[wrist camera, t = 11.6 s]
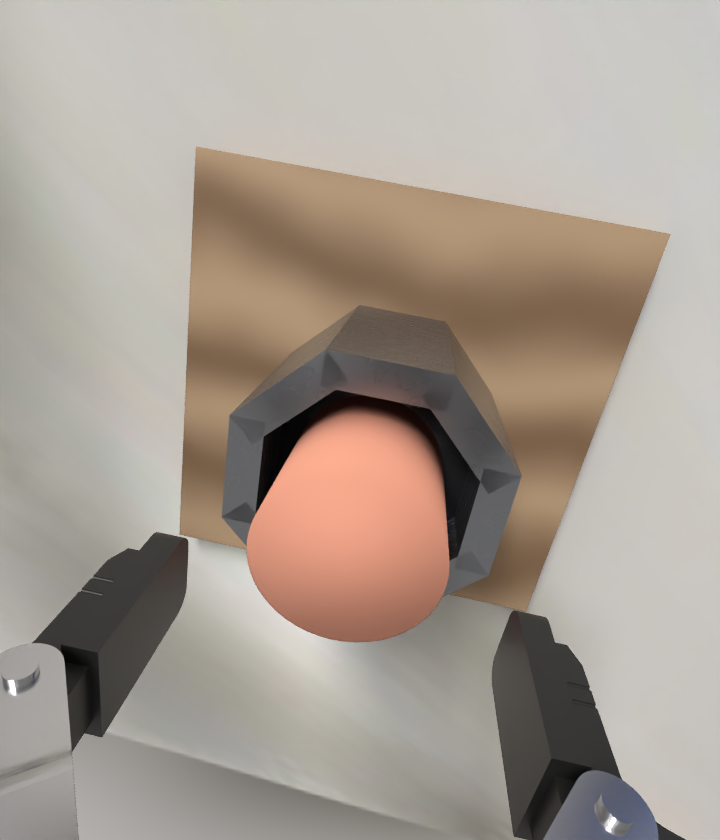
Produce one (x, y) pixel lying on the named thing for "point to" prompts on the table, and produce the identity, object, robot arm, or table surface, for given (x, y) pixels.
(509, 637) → the robot arm
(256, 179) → the walnut board
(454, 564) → the grey octagonal cup
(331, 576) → the salmon pink rounded cylinder
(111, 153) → the table surface
